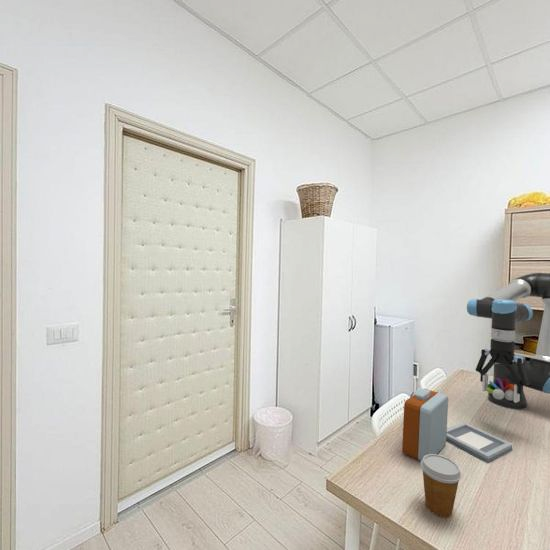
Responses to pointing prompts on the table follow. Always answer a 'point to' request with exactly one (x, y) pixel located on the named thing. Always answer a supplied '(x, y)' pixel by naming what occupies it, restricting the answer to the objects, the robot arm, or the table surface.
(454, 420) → the table surface
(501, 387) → the rainbow disc rolling toy
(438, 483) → the disposable coffee cup
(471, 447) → the square gray tray
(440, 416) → the rectangular block
